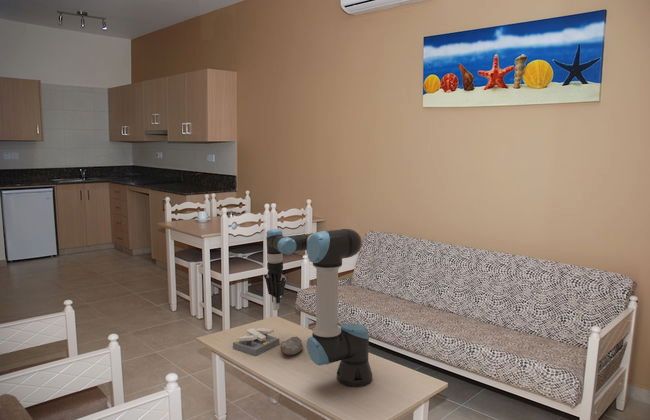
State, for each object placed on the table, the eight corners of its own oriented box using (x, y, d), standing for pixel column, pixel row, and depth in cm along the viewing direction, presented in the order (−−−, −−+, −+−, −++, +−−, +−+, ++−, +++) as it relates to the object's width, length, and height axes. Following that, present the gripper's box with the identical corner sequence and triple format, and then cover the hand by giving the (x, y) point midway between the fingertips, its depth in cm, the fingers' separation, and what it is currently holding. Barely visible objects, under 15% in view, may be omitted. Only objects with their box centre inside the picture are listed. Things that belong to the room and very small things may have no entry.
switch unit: (279, 344, 245) (279, 334, 244) (255, 356, 231) (255, 346, 230) (257, 337, 253) (257, 328, 253) (232, 348, 240) (232, 339, 239)
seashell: (294, 334, 245) (279, 326, 233) (311, 345, 238) (297, 337, 227) (284, 351, 243) (268, 343, 231) (301, 363, 236) (286, 355, 224)
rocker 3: (273, 332, 244) (273, 329, 244) (268, 334, 242) (268, 331, 241) (259, 331, 250) (258, 328, 250) (254, 333, 248) (253, 330, 247)
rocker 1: (258, 338, 236) (257, 335, 236) (252, 341, 233) (252, 337, 233) (244, 339, 242) (243, 336, 242) (238, 341, 239) (237, 338, 239)
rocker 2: (266, 339, 240) (266, 336, 240) (260, 342, 238) (261, 338, 237) (251, 331, 246) (251, 328, 245) (246, 333, 243) (246, 330, 242)
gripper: (290, 261, 236) (291, 309, 239) (269, 258, 243) (271, 305, 246) (280, 264, 230) (281, 313, 233) (259, 261, 237) (260, 309, 240)
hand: (276, 309), depth 239 cm, fingers closed
